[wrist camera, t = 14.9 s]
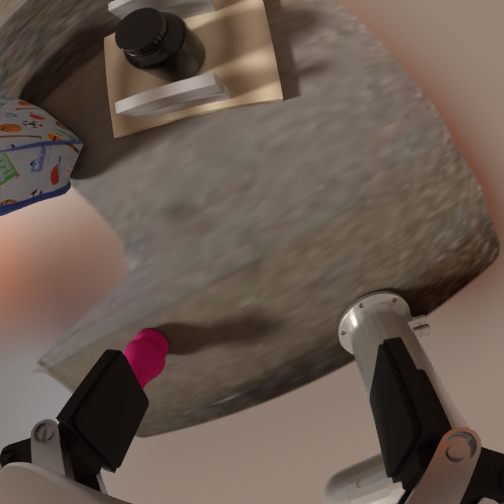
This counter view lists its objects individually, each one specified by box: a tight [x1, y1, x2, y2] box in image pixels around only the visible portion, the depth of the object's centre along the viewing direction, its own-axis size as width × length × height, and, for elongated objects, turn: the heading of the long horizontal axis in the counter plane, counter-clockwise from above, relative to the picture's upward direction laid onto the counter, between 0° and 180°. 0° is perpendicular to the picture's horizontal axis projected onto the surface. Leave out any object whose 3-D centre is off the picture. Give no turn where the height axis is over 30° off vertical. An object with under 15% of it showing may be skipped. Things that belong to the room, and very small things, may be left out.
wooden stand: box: [104, 0, 283, 138], centre depth 24 cm, size 22×16×11 cm
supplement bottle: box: [115, 7, 206, 82], centre depth 22 cm, size 7×7×12 cm
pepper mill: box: [124, 329, 169, 389], centre depth 37 cm, size 7×7×20 cm
